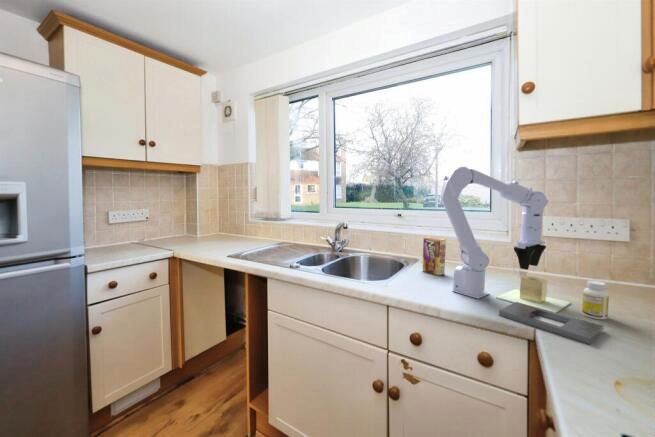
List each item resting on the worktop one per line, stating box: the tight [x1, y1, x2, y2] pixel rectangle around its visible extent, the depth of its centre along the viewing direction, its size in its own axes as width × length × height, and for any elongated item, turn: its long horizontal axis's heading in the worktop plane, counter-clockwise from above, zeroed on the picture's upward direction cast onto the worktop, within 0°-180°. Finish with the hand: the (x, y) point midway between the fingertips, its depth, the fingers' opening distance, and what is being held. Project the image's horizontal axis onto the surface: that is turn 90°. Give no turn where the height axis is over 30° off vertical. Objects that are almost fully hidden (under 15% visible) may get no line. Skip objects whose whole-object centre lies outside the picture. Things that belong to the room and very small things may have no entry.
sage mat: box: [496, 288, 572, 313], centre depth 95 cm, size 16×14×1 cm
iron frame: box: [498, 302, 604, 346], centre depth 79 cm, size 20×11×2 cm, turn 35°
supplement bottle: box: [581, 280, 610, 320], centre depth 83 cm, size 5×5×10 cm
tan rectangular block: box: [519, 275, 548, 304], centre depth 95 cm, size 6×4×7 cm, turn 35°
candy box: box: [422, 236, 447, 276], centre depth 128 cm, size 9×4×15 cm, turn 32°
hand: (528, 267), depth 99 cm, fingers open, 7 cm apart
